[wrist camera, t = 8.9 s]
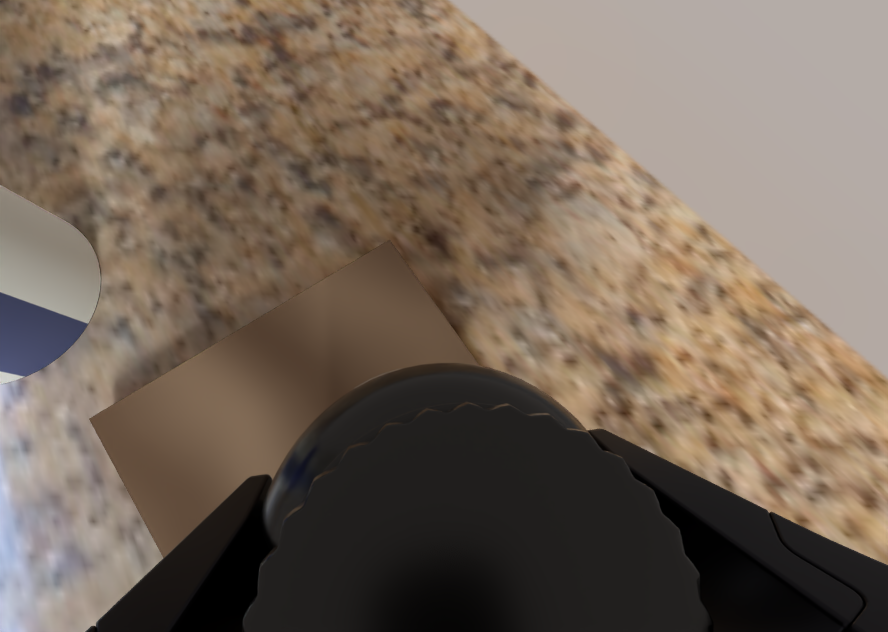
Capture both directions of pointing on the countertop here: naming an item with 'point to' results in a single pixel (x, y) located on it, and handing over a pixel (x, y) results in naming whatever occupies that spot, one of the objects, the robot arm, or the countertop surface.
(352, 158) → the countertop surface
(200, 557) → the robot arm
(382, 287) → the walnut board
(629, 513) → the supplement bottle
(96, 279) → the water bottle
